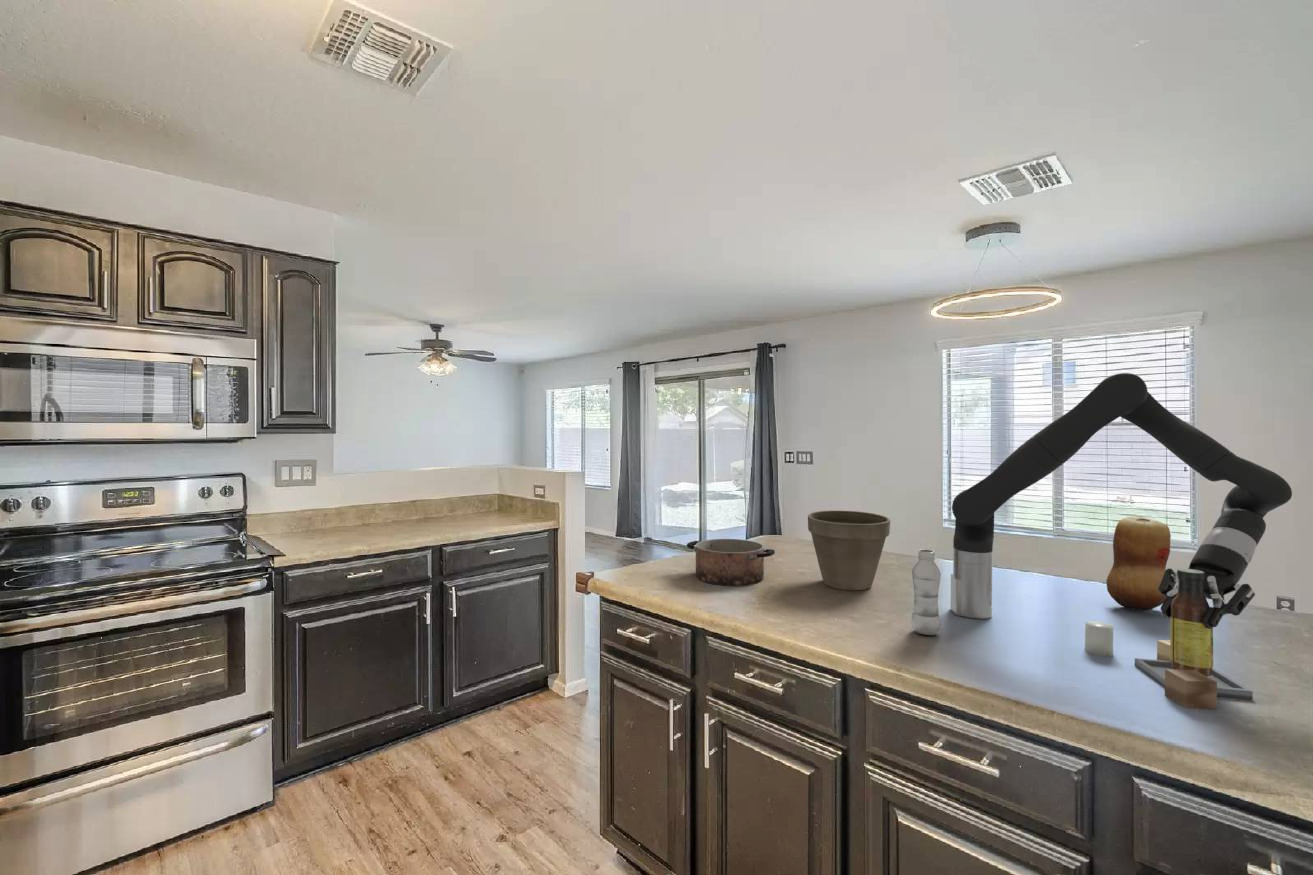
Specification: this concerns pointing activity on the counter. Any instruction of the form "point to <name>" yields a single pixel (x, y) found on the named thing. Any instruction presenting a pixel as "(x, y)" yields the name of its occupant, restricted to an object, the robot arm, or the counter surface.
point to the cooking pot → (729, 561)
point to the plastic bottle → (926, 594)
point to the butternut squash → (1139, 563)
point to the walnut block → (1191, 689)
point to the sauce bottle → (1190, 625)
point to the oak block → (1163, 650)
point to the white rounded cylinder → (1099, 638)
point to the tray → (1224, 683)
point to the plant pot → (848, 546)
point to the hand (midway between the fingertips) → (1185, 620)
